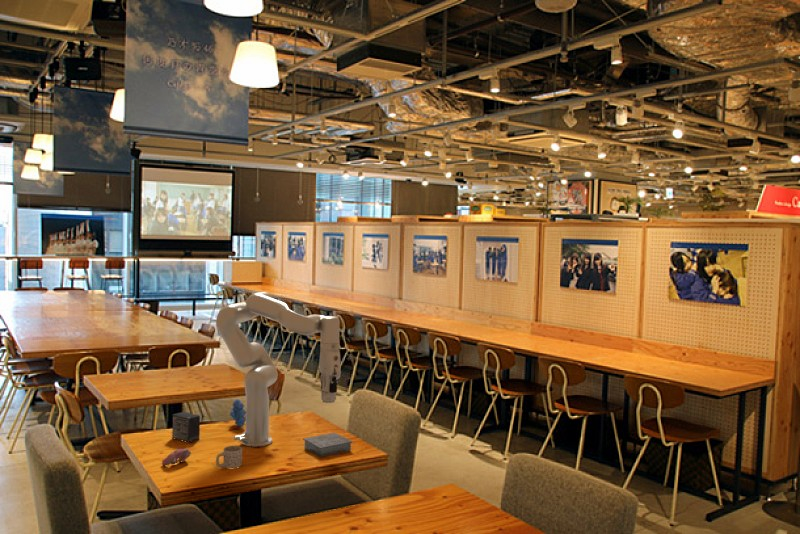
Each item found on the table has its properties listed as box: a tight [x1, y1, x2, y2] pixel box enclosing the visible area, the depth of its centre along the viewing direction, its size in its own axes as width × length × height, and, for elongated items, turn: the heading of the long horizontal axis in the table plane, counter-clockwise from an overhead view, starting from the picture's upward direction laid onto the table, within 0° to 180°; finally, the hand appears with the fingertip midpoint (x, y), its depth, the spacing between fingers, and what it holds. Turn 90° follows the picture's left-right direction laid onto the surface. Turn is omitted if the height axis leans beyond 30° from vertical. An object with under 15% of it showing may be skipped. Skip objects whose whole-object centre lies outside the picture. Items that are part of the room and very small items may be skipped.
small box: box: [171, 411, 201, 443], centre depth 269 cm, size 11×6×10 cm, turn 58°
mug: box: [215, 445, 243, 469], centre depth 238 cm, size 10×7×7 cm
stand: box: [302, 432, 353, 458], centre depth 260 cm, size 15×14×4 cm
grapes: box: [229, 399, 246, 428], centre depth 289 cm, size 12×7×12 cm, turn 37°
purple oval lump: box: [161, 447, 192, 466], centre depth 240 cm, size 10×5×7 cm, turn 149°
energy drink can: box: [320, 367, 337, 404], centre depth 259 cm, size 6×6×15 cm
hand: (328, 390), depth 259 cm, fingers closed on energy drink can, 6 cm apart
